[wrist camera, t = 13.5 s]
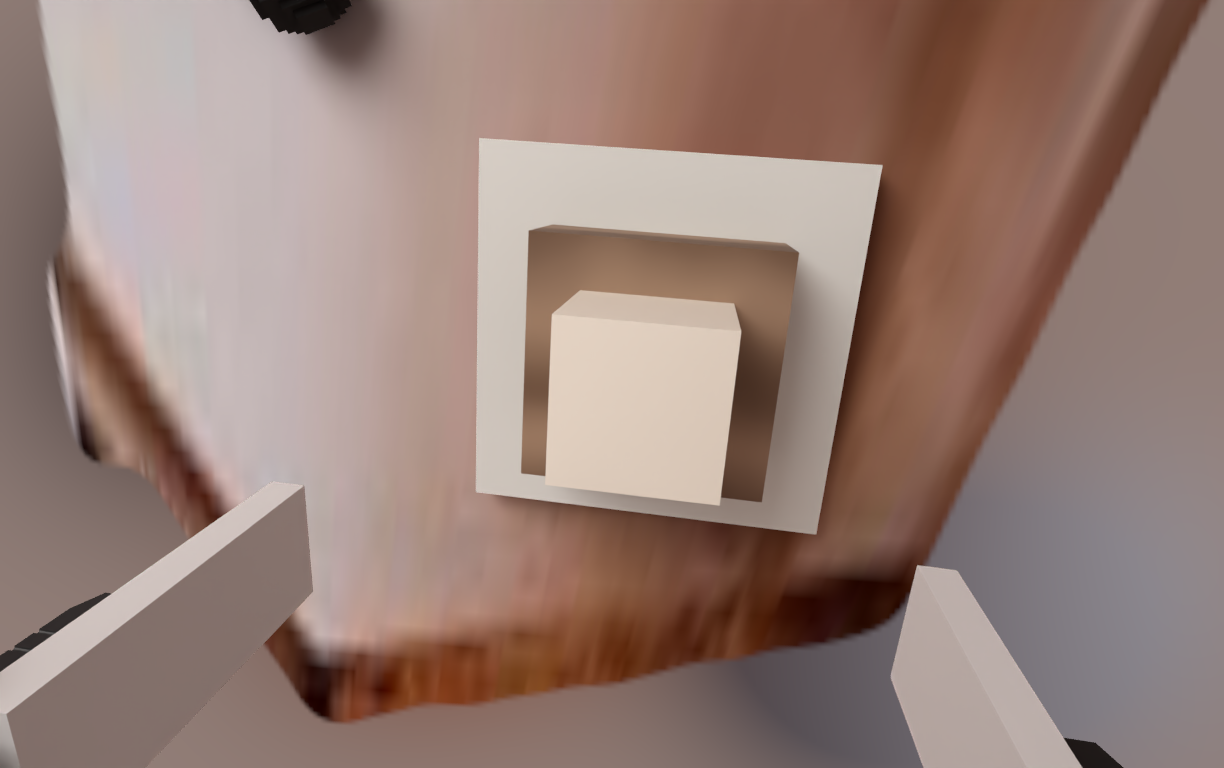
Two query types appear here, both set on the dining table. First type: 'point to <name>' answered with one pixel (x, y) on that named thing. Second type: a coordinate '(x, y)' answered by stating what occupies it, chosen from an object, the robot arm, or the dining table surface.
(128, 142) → the dining table surface
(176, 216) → the dining table surface
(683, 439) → the cream brick
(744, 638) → the dining table surface
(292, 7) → the toy
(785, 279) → the walnut brick
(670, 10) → the dining table surface
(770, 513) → the plinth
